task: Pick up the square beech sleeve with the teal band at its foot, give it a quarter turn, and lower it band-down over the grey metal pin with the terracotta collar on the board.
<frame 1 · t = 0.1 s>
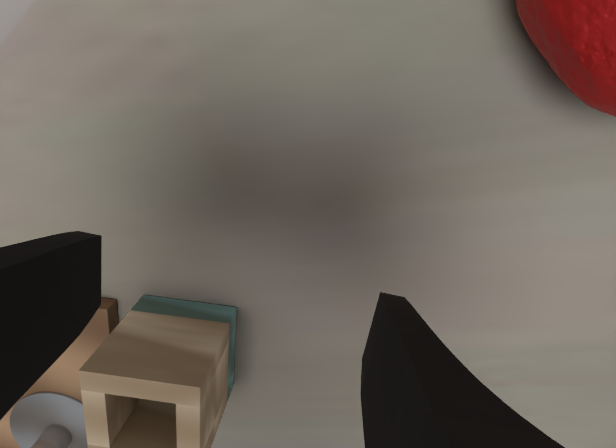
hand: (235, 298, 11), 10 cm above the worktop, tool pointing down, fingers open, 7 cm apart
sleeve: (190, 340, 24), on the worktop
pin board: (18, 379, 26), on the worktop
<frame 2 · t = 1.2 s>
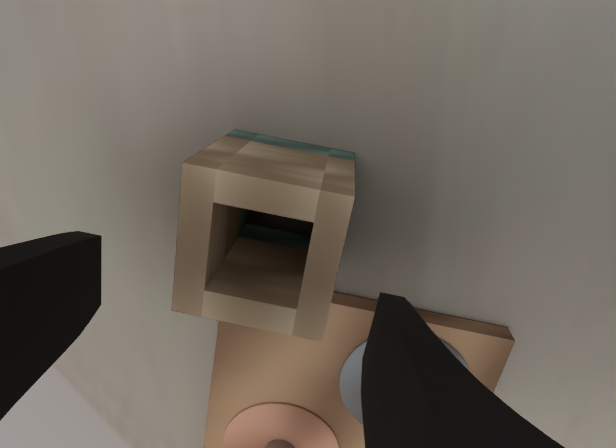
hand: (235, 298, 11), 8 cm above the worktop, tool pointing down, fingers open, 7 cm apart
sleeve: (285, 198, 19), on the worktop
pin board: (339, 406, 23), on the worktop
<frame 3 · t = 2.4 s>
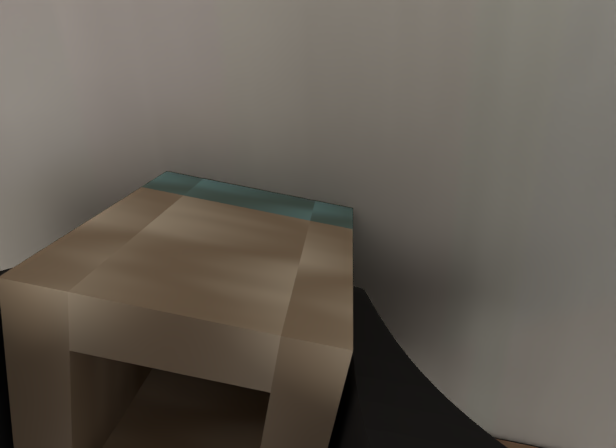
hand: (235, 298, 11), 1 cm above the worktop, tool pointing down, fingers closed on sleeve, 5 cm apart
sleeve: (247, 272, 13), on the worktop, touching gripper
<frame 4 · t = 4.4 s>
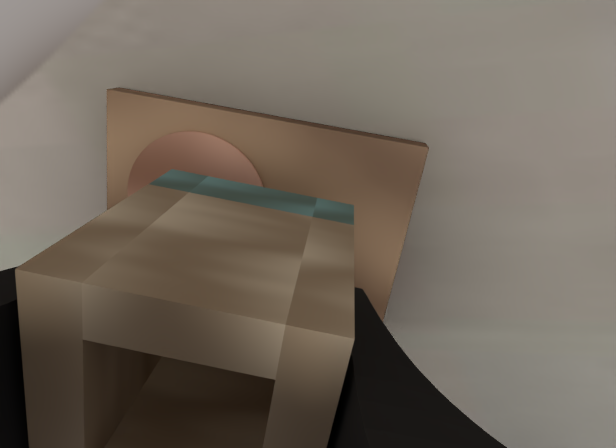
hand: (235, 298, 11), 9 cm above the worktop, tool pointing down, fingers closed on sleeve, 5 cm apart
sleeve: (250, 268, 13), point 7 cm above the worktop, touching gripper
pin board: (252, 254, 21), on the worktop
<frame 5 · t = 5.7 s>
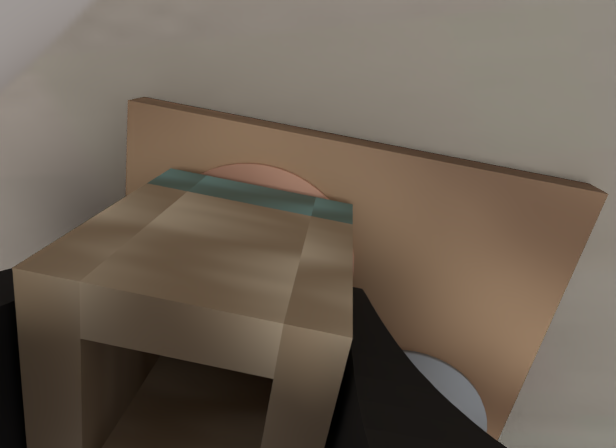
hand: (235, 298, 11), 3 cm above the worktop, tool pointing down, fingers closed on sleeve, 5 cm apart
sleeve: (249, 267, 13), point 2 cm above the worktop, touching gripper
pin board: (322, 327, 15), on the worktop
when the fingers open (3 cm above the worktop, at t = 6.3 s): sleeve stays where it is, resting on pin board.
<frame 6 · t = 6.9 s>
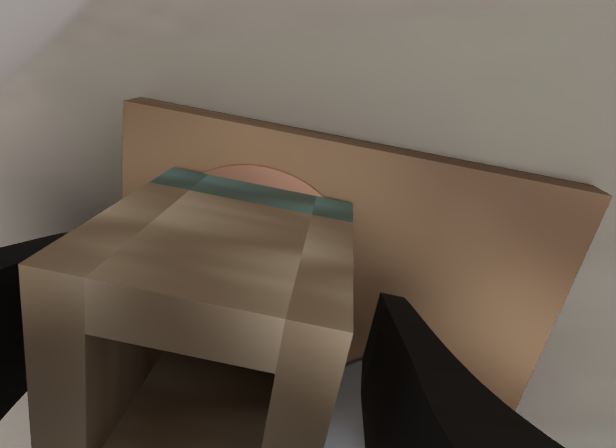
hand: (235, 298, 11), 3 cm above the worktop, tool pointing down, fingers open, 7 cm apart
sleeve: (250, 266, 13), point 1 cm above the worktop, touching pin board
pin board: (321, 330, 15), on the worktop
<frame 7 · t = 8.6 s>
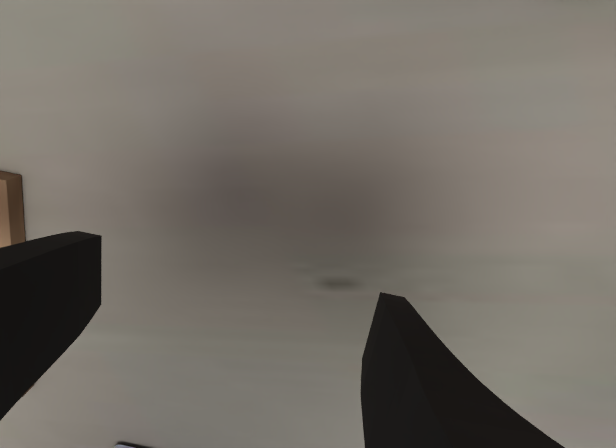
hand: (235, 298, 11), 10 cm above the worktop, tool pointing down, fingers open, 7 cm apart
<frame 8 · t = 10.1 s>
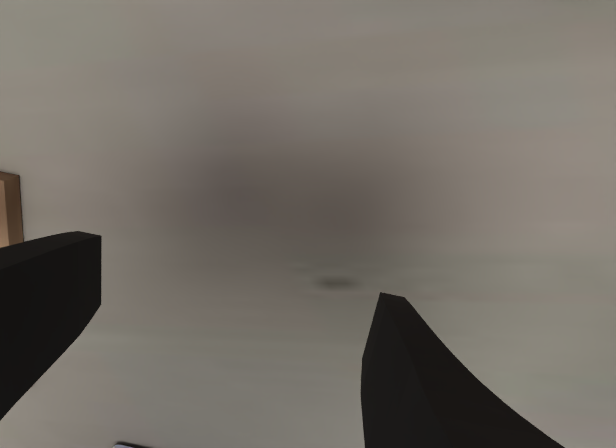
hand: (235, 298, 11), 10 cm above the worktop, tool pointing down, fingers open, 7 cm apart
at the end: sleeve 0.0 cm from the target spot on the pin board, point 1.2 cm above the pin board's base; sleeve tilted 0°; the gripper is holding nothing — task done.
